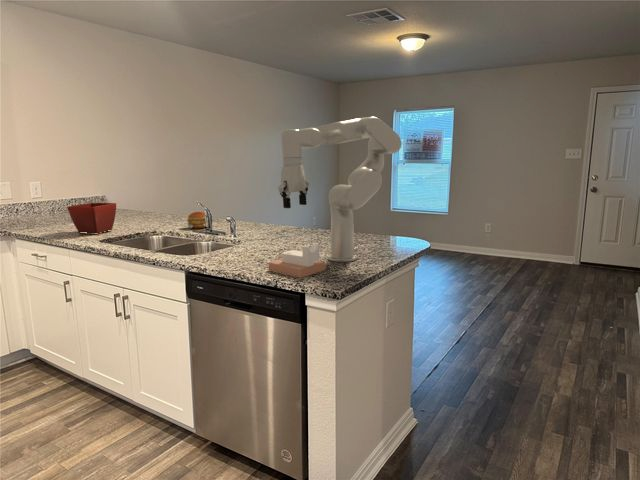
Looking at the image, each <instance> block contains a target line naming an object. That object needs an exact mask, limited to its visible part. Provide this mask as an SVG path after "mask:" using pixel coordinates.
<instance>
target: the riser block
mask: <svg viewBox="0 0 640 480" xmlns="http://www.w3.org/2000/svg"><path fill="white" fill-rule="evenodd" d="M325 270H326V261H325V260H324V261H323V260H319V261H317V262H314V265H312V266H309V267H306V266H301V265H295V264H290V263H284V262H282V258H281V259H276V260H273V261H269V262H268V271H270V272H275V273H279V274H284V275H288V276H292V277H295V278H296V277H298V278H305V277H307V276H310V275H314V274H316V273H319V272H323V271H325Z"/></svg>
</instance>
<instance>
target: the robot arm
mask: <svg viewBox="0 0 640 480" xmlns="http://www.w3.org/2000/svg"><path fill="white" fill-rule="evenodd" d="M280 135H281V148H282V149H281V150H282V167H281V172H280V185H279V186H278V187H277V189H278V192H279V194H280V196H281V198H282V204H283V205H282V206H283V208H284V209H291V205H292V204H291V203H292V202H291V197H290V195H291V194H292V193H296V192H298V194H299V195H298V200H299V203H298V204H299V205H300V206H306V205H307V194H308V191H309V185H310V183H309V182H308V181H306V173H305V167H304V166H303V149H313V148H317V147H319V146H321V145H322V146H323V145H338V144H344V143H348V142H354V141H359V140H364V139H369V140H368V143H367V157H366V158H365V159H364V161H363V162H362V163H361V164H360V165H358V167H357V168H356V169H354V170H353V171H352V172H351V173H350V174H349V176H348V178H347V184H336V185H334V186H333V187H331V188H330V190H329V192H328V203H329V209H330V233H331V234H330V237H331V238H330V239H331V241H330V247H331V248H330V250H331V252H330V254H327V255H328V256H327V260H329V261H332V262H338V263H347V262H354V261H356V260H357V259H358V255H357V254H355V253H356V252H358V251H360V247H359V246H356V247H354V246H355V245H354V237H355V236H354V234H355V233H354V230H355V228H354V226H355V224H354V212H353V210H358V209H360V208H362V207H364V205H366V203H367V202H369V200H371V198H372V197H373V196H375V195H376V193H377V192H378V191H379V190H380V189H381V186H382V184H383V177H382V174H381V172H382V171H383V170H384V167H385V155H392V154H396V153H398V152H399V151H400V149H401V148H402V139H401V137H400V135H399V134H398V133H397V132H396V131H395V130H394V129H393V128H391V126H389V124H387V123H385V122H384V121H383V120H381V118H379V117H376V116H368V117H367V116H366V117H359V118H354V119H347V120H342V121H341V120H340V121H336V122H331V123H327V124H323V125H318V126H312V127H307V128H300V129H295V128H294V129H293V128H291V129H290V128H289V129H283V130H282V131H281V134H280Z"/></svg>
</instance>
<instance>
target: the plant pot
mask: <svg viewBox="0 0 640 480" xmlns="http://www.w3.org/2000/svg"><path fill="white" fill-rule="evenodd" d="M66 207H67V211H68V214H69V215H70V218H71V221H72V223H73V224H74V226H75V228H76V230H77V232H78V233H79V232H87V233H100V232H104V231H108V230H113V227H114V225H115V224H114V223H115V218H116V212H117V203H116V202H88V203H83V204H75V205H68V206H66Z"/></svg>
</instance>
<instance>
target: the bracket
mask: <svg viewBox="0 0 640 480" xmlns="http://www.w3.org/2000/svg"><path fill="white" fill-rule="evenodd" d="M311 244H312V245H311V248H310V246H308V245H302V247H301V248H302V250H295V249H292V250H288V251H285V252H282V253H281V259H282V262H284V263H290V264H295V265H301V266H306V267H309V266H312V265H314V262H317V261H320V243H317V242H313V243H311Z"/></svg>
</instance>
